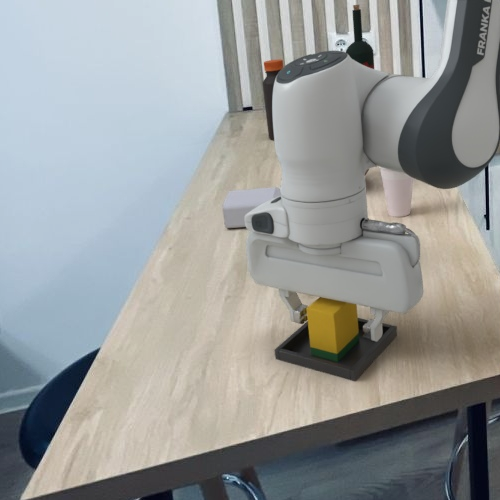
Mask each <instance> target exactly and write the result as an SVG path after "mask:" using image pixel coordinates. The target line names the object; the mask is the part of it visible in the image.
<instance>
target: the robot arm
mask: <svg viewBox="0 0 500 500" xmlns="http://www.w3.org/2000/svg"><path fill="white" fill-rule="evenodd" d="M441 37H442V38H441V44H440V52H439V59H438V65H437V67H436V69H435V71H434V73H433V74H432V75H431V76H430V77H421V76H419V77H418V76H410V75H405V74H394V73H390V72H386V71H382V70H378V69H375V68H374V69H372V68H369V67H366V66H364V65H362V64H360V63H358V62H356V61H355V60H353V59H352V58H351V57H350V56H349V55H348V54H347V53H346V51H343V50H323V51H319V52H315V53H312V54H311V53H310V54H307V55H303V56H301V57H298V58H296V59H294V60H292V61H290V62H289V63H287V64H285V65H283V69H281V70H280V71H279V72H278V74H277V76H276V79H275V82H274V87H273V98H272V114H273V131H274V140H273V141H274V149H275V154H276V155H275V156H276V158H277V160H278V162H279V164H280V169H281V181H280V187H279V189H280V194H281V195H280V196H277V197H275V198H273V199H271V200H268V201H267V202H265V203H263V204H261V205H259V206H258V207H256V208H254V209H253V210H251V211H250V212H249V213H247V214H246V215H245V225H246V227H245V229H246V230H247V231H248V232H249V233H248V234H247V236H246V238H245V239H246V241H245V252H246V263H247V269H248V274H249V276H250V278H251V279H252V281H253V282H254V283H255V284H256V285H258V286H263V287H268V288H273V289H278V296H279V297H280V299H281V301H282V302H283V303H284V305H285V307H286V308H287V309H288V311H289V317H290V318H289V319H290V322H291V323H294V324H295V323H296V324H301V325H303V324H305V323H306V322H307V321H308V319H307V310H306V308H307V307H309V305H307V304H303V302H302V300H301V299H300V297H299V295H298V294H302V295H303V294H304V295H308V296H313V297H317V298H319V297H322V298H327V299H332V300H337V301H342V302H347V303H352V304H357V306H362V307H367V308H369V310H370V315H371V316H374V318H373V319H372V318H369V319H367V320H368V321H367V323H365V324H364V325H363V332H364V335H363V337H364V339H368V340H372V341H376V342H377V341H378V340H379V339H380V338H381V337H382V334H383V329H382V323H383V322H384V321H385V319H386V318H387V316H388V314H389V313H390V312H391V313H397V314H401V315H405V314H408V313H409V312H410V311H412V310H413V309H414V308H415V307H416V306H417V305H418V304H419V303H420V302H421V300H422V299H423V296H424V291H425V289H424V280H423V273H422V266H421V262H420V259H421V240H420V237H419V236H418V235H417V234H416V233H415V232H414V231H413V230H412V229H410V228H408V227H407V226H406V224H404V223H402V222H401V223H400V222H386V221H382V220H377V219H370V218H369V213H368V197H367V182H366V175H365V172H366V171H367V170H368V169H369V168H370V169H372V168H377V167H378V166H379V167H381V168H384V169H388V170H391V171H395V172H399V173H402V174H406V175H409V176H410V177H412V178H414V179H415V180H417V181H420V182H422V183H423V184H427V185H429V186H431V187H434V188H436V189H440V190H450V189H451V190H452V189H454V188H458V187H460V186H462V185H464V184H466V183H468V182H469V181H471V180H472V179H475V178H476V177H477V176H478V175H479V174H480V173H482V172H483V170H485V169H486V168H487V167H488V166H489V164H490V163H491V162H492V160H493V159H494V157H495V155H496V154H497V152H498V150H499V146H500V0H446V7H445V15H444V22H443V29H442V36H441ZM379 167H378V168H379ZM370 169H369V170H370ZM414 179H413V180H414ZM368 218H369V219H368Z"/></svg>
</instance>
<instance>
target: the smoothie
mask: <svg viewBox="0 0 500 500" xmlns="http://www.w3.org/2000/svg"><path fill="white" fill-rule="evenodd" d="M377 167H378V168H379V170H380V175H381V177H380V178H381V182H382V186H383V192H384V197H385V202H386V208H387V214H388V215H389V216H390V217H393V218H402V217H407V216H409V215H410V214H411V209H412V199H413V187H414V178H412V177H410V176H409V175H406V174H402V173H399V172H395V171H391V170H388V169H384V168H381V167H379V166H377Z"/></svg>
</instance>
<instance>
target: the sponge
mask: <svg viewBox="0 0 500 500" xmlns="http://www.w3.org/2000/svg"><path fill="white" fill-rule="evenodd" d="M306 310H307V319H308V320H307V321H308V329H309V338H310V349H311V355H314V356H318V357H321V358H325V359H329V360H332V361H336V362H338V361H339V360H340V359H341V358H342V357H343V356H344V355H345V354H346V353H347V352H348V351H349V350H350V349H351V348H352V347H353V346H354V345H355V344H356V343H357V342H358V341H359V331H358V318H359V317H358V305H357V304H352V303H347V302H342V301H337V300H332V299H327V298H322V297H317V299H316V300H314V301H313V302H312V303H311V304H309V305H308V307H307V308H306Z"/></svg>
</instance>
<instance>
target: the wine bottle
mask: <svg viewBox="0 0 500 500" xmlns="http://www.w3.org/2000/svg"><path fill="white" fill-rule="evenodd" d="M352 8H353V9H352V11H351V12H352V25H353V42H352V43H351V44H350V45H348V47H347V48H346V50H345V53H347V54H348V55H349V56H350V57H351V58H352V59H353V60H355V61H356V62H358V63H360V64H362V65H364V66H366V67H369V68H372V69H375V59H374V57H375V56H374V49H373V47H372V46H371V44H370V43H368V42H366V41H364V40H363V27H362V26H363V24H362V10H361V8H360V4H353V5H352Z"/></svg>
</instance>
